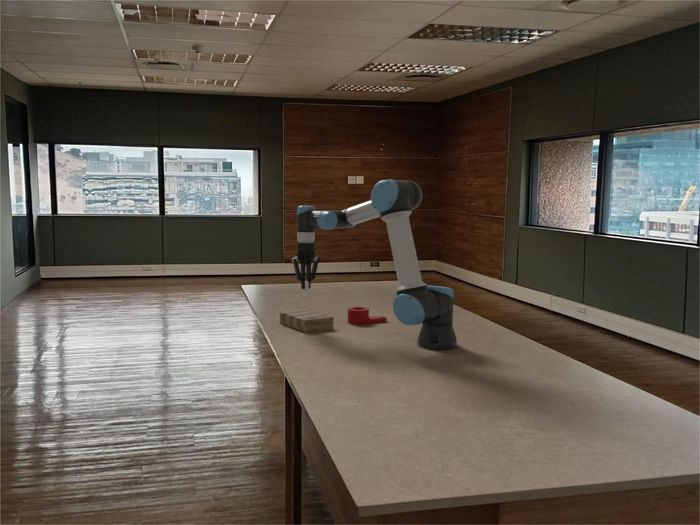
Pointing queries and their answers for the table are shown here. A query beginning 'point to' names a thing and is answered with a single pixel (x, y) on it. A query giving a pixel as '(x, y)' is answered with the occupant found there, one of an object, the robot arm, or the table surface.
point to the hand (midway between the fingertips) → (305, 296)
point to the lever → (363, 316)
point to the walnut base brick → (306, 320)
